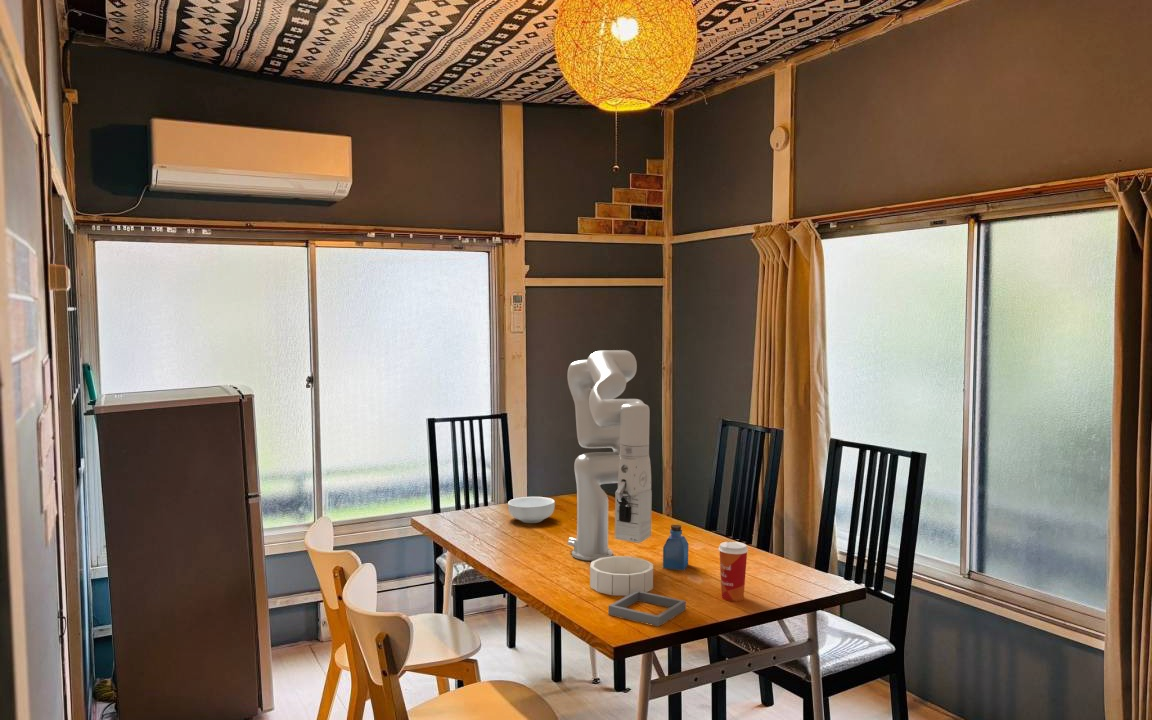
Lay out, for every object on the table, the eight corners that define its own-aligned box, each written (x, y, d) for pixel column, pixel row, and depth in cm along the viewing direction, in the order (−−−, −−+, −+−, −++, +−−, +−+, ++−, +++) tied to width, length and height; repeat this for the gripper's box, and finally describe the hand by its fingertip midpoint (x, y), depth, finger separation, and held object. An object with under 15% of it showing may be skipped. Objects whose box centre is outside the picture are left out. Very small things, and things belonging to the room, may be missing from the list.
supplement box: (626, 532, 221) (627, 485, 220) (651, 536, 217) (652, 489, 216) (613, 539, 215) (614, 491, 214) (639, 543, 211) (640, 494, 210)
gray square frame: (608, 614, 204) (608, 605, 203) (637, 598, 215) (637, 590, 215) (658, 626, 196) (658, 617, 196) (685, 609, 207) (685, 601, 207)
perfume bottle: (688, 564, 245) (688, 524, 245) (683, 570, 239) (684, 529, 239) (667, 562, 247) (668, 522, 247) (663, 568, 242) (663, 527, 241)
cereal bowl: (528, 512, 309) (528, 494, 309) (564, 519, 299) (564, 500, 299) (498, 521, 295) (498, 502, 295) (534, 529, 286) (534, 508, 285)
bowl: (578, 587, 224) (578, 567, 223) (611, 571, 238) (611, 552, 237) (632, 599, 214) (632, 578, 214) (664, 582, 228) (664, 563, 228)
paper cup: (714, 593, 220) (715, 541, 219) (742, 592, 220) (743, 540, 220) (722, 603, 212) (722, 549, 211) (751, 602, 213) (752, 548, 212)
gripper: (629, 457, 205) (628, 527, 206) (663, 447, 219) (661, 513, 221) (604, 454, 209) (603, 522, 211) (638, 444, 224) (637, 508, 225)
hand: (633, 517), depth 216 cm, fingers closed on supplement box, 7 cm apart
